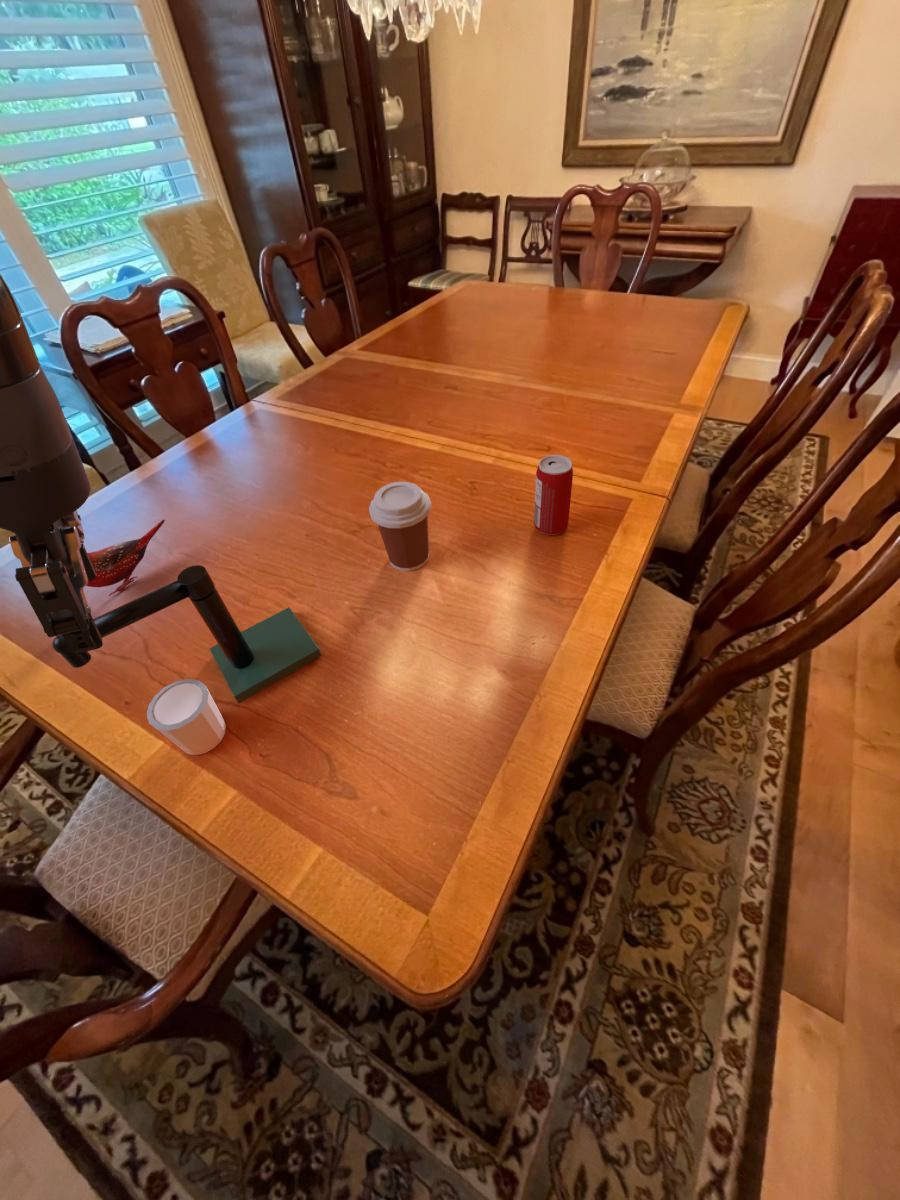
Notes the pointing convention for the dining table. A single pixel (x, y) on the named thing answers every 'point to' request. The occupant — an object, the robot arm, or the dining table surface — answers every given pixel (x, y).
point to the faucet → (255, 647)
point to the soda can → (553, 494)
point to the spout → (143, 608)
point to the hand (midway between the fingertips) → (85, 612)
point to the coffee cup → (403, 523)
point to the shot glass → (187, 716)
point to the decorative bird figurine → (119, 561)
